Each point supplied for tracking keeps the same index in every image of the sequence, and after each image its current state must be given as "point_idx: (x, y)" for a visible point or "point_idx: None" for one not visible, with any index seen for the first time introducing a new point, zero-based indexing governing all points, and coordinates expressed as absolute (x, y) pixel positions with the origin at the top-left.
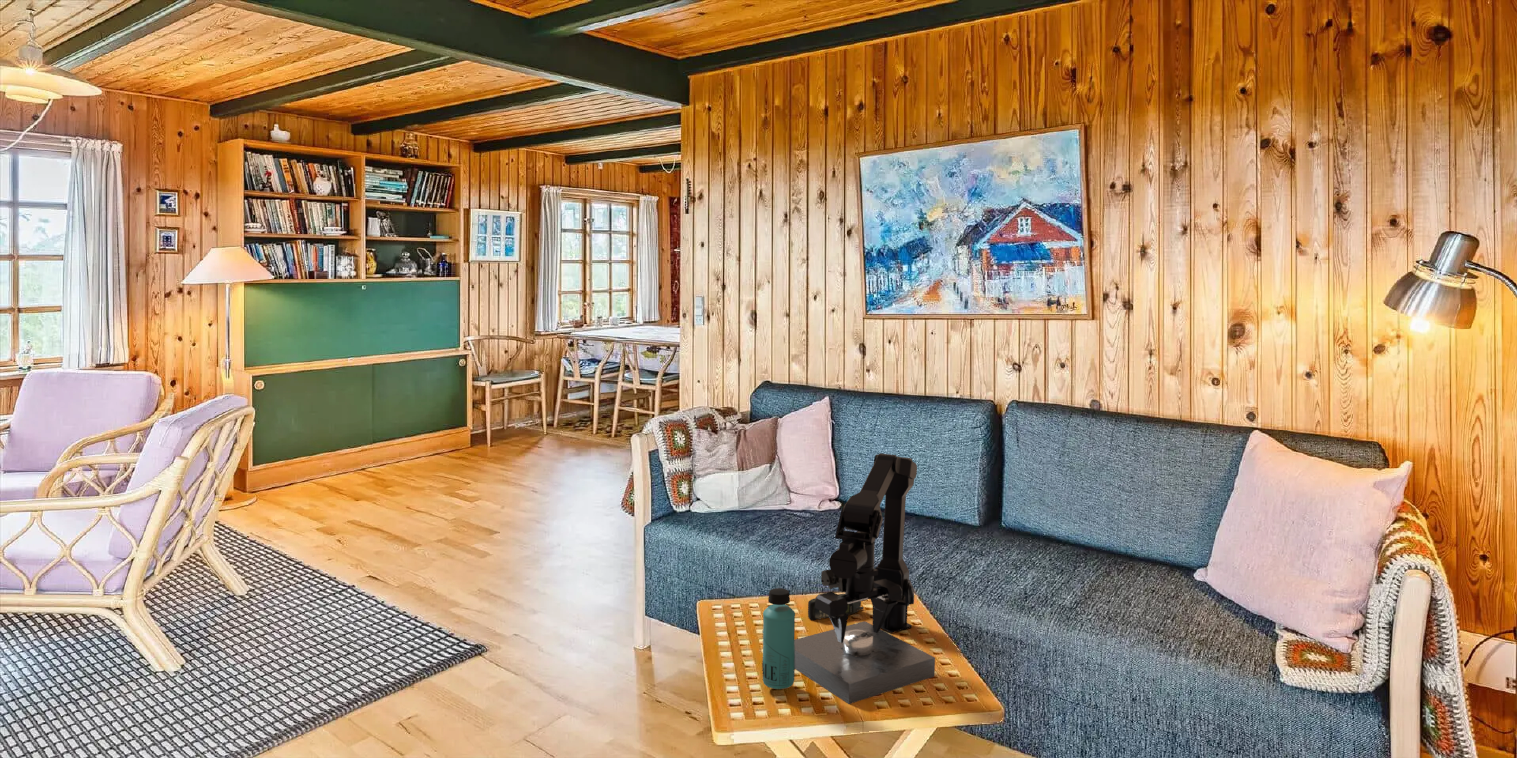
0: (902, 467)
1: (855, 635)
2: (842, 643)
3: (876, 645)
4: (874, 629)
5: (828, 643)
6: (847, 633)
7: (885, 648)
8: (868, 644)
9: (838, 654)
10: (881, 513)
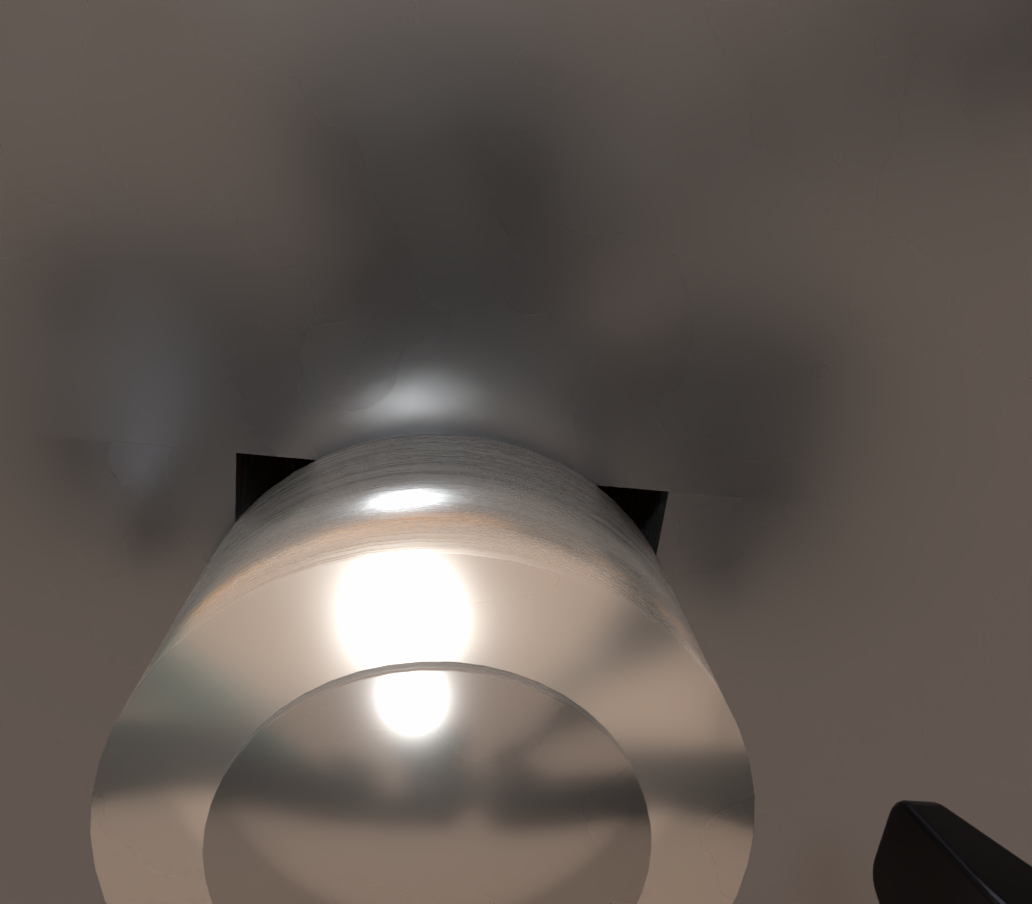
0: None
1: (349, 862)
2: (409, 323)
3: (796, 702)
4: (915, 874)
5: (168, 147)
6: (304, 656)
7: (801, 836)
8: None
9: (37, 608)
10: None
